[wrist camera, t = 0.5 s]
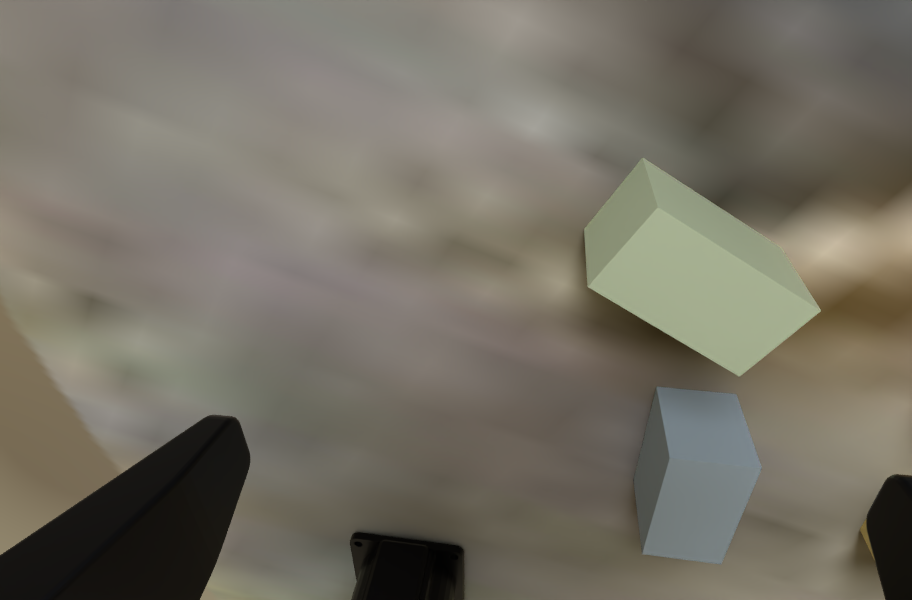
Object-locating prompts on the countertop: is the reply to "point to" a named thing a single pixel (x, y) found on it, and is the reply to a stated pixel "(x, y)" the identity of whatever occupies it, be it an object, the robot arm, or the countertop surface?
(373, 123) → the countertop surface
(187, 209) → the countertop surface
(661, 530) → the slate-blue block
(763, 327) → the sage block
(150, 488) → the robot arm
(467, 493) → the countertop surface
